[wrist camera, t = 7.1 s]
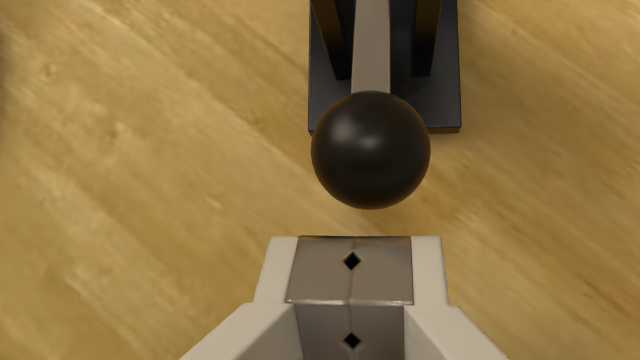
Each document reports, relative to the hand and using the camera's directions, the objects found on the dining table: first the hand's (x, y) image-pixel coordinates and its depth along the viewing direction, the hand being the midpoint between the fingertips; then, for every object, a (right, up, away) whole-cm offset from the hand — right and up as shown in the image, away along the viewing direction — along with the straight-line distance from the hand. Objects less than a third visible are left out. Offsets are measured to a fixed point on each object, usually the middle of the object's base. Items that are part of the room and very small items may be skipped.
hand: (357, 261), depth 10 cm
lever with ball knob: (+1, +5, +9) cm, 10 cm away
